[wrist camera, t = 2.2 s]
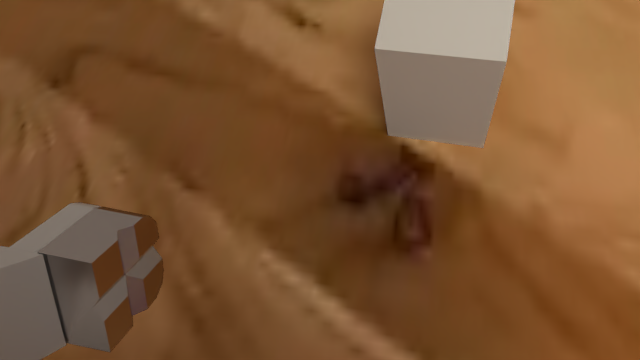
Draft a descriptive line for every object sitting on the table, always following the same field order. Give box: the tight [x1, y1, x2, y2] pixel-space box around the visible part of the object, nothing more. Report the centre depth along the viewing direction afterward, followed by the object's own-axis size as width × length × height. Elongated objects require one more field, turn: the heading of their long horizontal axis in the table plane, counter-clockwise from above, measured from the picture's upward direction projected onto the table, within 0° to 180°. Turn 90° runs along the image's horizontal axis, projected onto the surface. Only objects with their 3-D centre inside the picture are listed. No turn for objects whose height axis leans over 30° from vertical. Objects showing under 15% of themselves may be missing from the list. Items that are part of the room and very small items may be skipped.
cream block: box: [375, 0, 515, 148], centre depth 24 cm, size 4×4×8 cm
